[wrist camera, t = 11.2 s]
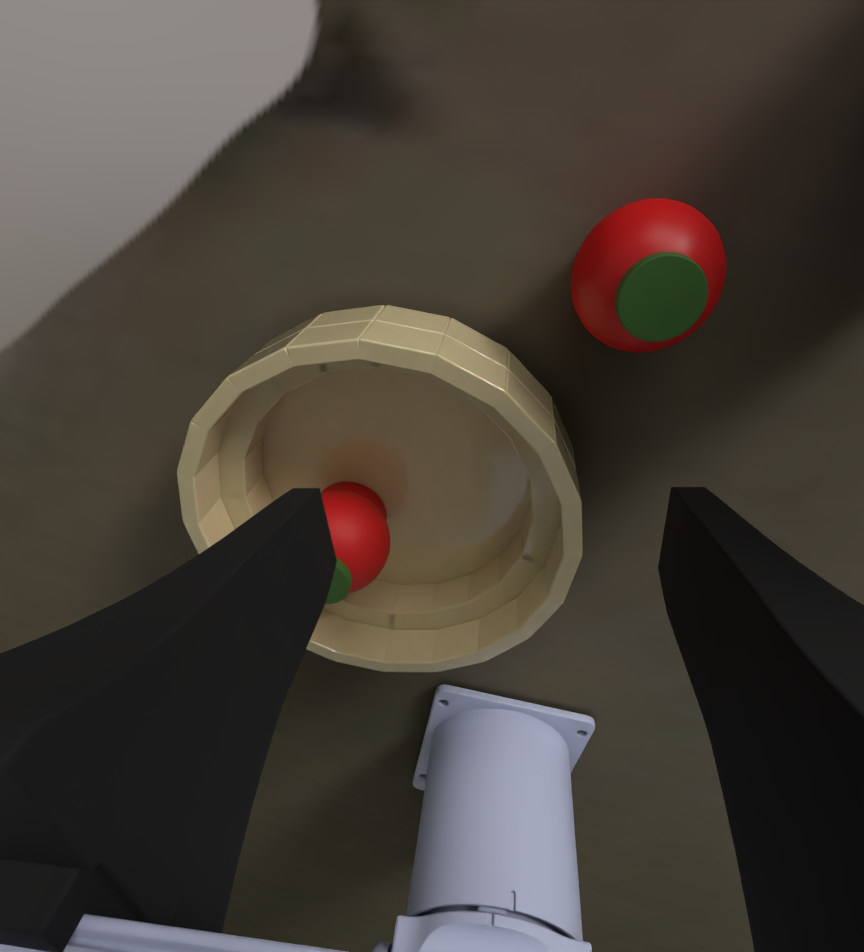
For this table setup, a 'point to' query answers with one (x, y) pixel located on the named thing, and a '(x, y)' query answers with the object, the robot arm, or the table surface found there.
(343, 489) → the strawberry
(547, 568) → the bowl
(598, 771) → the table surface
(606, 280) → the strawberry
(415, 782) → the robot arm
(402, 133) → the table surface
